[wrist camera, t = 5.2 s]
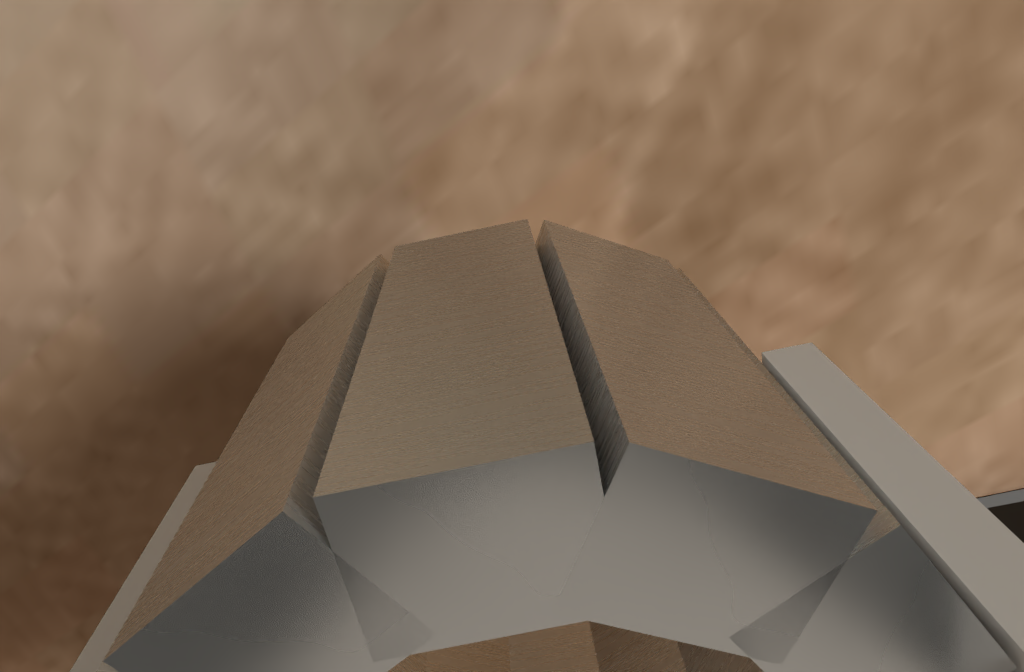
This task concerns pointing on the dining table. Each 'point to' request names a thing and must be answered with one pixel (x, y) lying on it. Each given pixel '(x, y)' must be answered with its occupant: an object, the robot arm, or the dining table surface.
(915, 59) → the dining table surface
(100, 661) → the robot arm
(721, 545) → the ring
